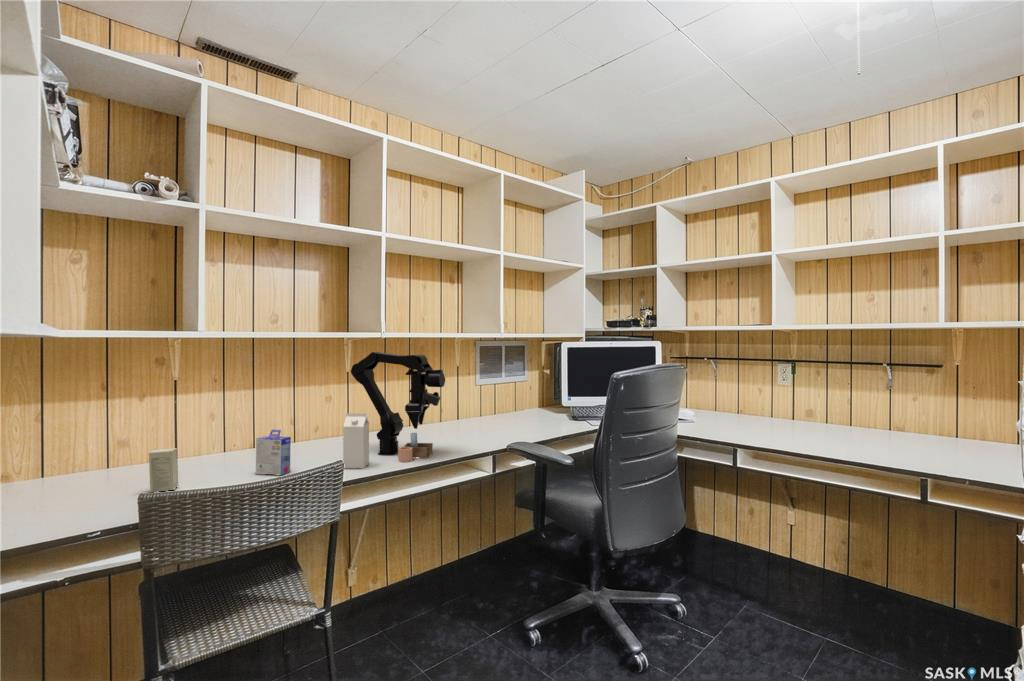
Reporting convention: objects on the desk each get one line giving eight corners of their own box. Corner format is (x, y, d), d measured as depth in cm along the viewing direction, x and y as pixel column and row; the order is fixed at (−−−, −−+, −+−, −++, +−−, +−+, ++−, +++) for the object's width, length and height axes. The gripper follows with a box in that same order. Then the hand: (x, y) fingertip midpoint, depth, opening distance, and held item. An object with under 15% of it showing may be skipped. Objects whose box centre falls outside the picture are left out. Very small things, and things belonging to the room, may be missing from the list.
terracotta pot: (396, 462, 185) (396, 449, 185) (400, 458, 190) (400, 446, 190) (410, 462, 185) (410, 449, 185) (413, 458, 190) (413, 446, 190)
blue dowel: (411, 455, 194) (407, 434, 194) (412, 453, 197) (408, 433, 197) (420, 453, 194) (416, 432, 194) (421, 452, 197) (417, 431, 196)
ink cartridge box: (291, 471, 171) (291, 429, 171) (281, 476, 166) (281, 432, 166) (265, 470, 173) (265, 428, 173) (254, 474, 168) (254, 431, 168)
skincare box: (178, 487, 154) (178, 447, 153) (173, 491, 149) (173, 450, 149) (154, 488, 152) (154, 448, 152) (148, 493, 148) (148, 452, 147)
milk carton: (349, 463, 182) (349, 411, 182) (368, 463, 182) (369, 411, 182) (343, 468, 175) (343, 415, 175) (363, 469, 175) (363, 415, 175)
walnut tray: (402, 457, 191) (402, 447, 191) (407, 452, 199) (407, 442, 199) (428, 458, 191) (428, 447, 191) (432, 453, 199) (432, 443, 199)
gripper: (434, 389, 185) (434, 431, 186) (442, 384, 204) (442, 422, 204) (404, 389, 186) (404, 431, 186) (415, 384, 204) (415, 422, 205)
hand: (418, 426), depth 195 cm, fingers open, 9 cm apart
